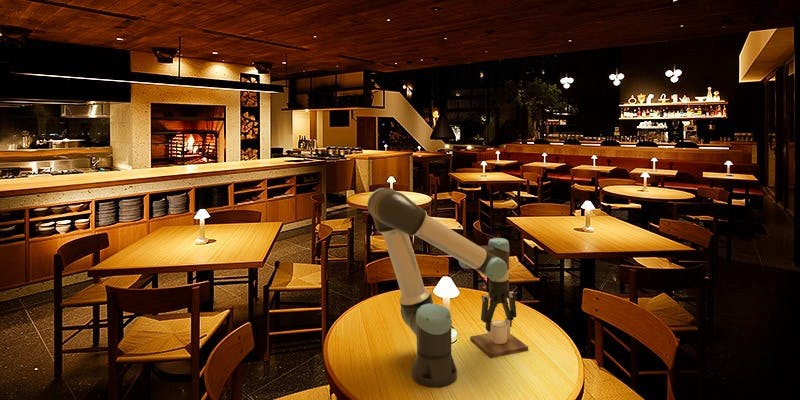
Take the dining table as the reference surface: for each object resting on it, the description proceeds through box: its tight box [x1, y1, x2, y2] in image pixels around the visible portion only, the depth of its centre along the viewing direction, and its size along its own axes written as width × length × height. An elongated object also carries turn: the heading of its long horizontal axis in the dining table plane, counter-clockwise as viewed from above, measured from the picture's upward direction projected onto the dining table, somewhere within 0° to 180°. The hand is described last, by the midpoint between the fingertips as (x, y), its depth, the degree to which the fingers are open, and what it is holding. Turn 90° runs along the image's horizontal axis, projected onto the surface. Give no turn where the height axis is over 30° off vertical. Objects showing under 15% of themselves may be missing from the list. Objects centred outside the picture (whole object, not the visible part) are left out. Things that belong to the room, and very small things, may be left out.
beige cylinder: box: [491, 319, 508, 344], centre depth 179 cm, size 7×7×7 cm
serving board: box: [469, 332, 529, 359], centre depth 180 cm, size 16×16×2 cm
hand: (498, 336), depth 180 cm, fingers closed on beige cylinder, 7 cm apart
